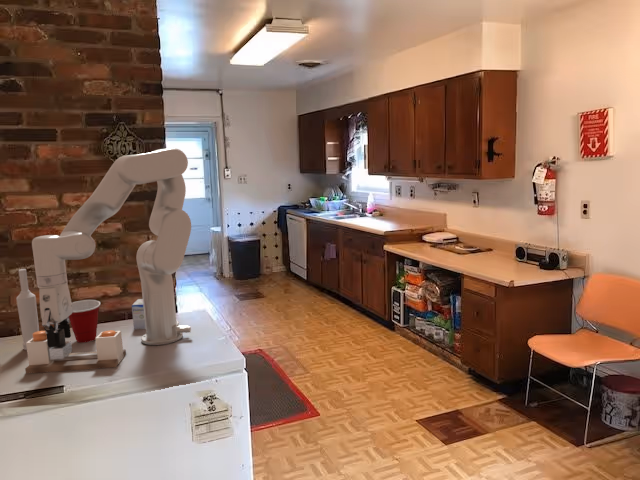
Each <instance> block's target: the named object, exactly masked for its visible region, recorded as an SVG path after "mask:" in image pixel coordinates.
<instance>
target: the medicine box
mask: <svg viewBox="0 0 640 480" xmlns="http://www.w3.org/2000/svg"><path fill="white" fill-rule="evenodd" d="M131 314H132V325H133V329H134V330H146V327H145V317H144V307H143V298H137V300H135V301H134V302H133V304H131Z"/></svg>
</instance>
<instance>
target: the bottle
mask: <svg viewBox="0 0 640 480" xmlns="http://www.w3.org/2000/svg"><path fill="white" fill-rule="evenodd" d="M27 274H28V272H27V269H26V268H21V269H18V277H19V283H20V290H21V291H19V294H18V295H17V296H16V305H17V312H18V317H19V324H20V330H21V335H22V342H23V343H22V348H23V350H24V351H27V346H26V343H27V342H28V341H29V340H31V339H32V338H33V333H34V332H37V331H40V327H39V318H38V309H37V308H38V307H37V297H36V294H34V293H32V292H31V290H29V282H28V275H27Z"/></svg>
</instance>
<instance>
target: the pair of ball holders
mask: <svg viewBox="0 0 640 480" xmlns="http://www.w3.org/2000/svg"><path fill="white" fill-rule="evenodd" d="M114 331H115V335H114V336H110V337H102V335H101V333H102V332H103V331H101V332H100V333H99V334H98V335H96V338H95V347H96V351H97V357H98V360H111V359H118V365H119V364H120V362H121V361H122V360H123V359H124V357H125V356H124V354H122V353H123V350H124V348H123V347H124V346H123V337H122V330H114ZM26 346H27V350H26V351H27V360H28V366H29V365H40V364H50V363H51V362H52V361H53V360H54V359H53V360H50V353H49V349H50V348H51V347H48V343H47V340H44V341H36V342H34V341H33V338H32V339H31V340H29V341H28V342H27V343H26ZM123 356H124V357H123ZM121 359H122V360H121Z"/></svg>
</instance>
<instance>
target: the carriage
mask: <svg viewBox="0 0 640 480" xmlns="http://www.w3.org/2000/svg"><path fill="white" fill-rule="evenodd" d="M57 332H59V335H60V343H61V345H60V346H59V347H51V348H50V349H49V353H50V360H53V359H64V358H65V357H66V356H67V355H68V354H69V353H73V348H72V346H73V345H72V341H71V340H69V341H66V338H65V334H64V328H58V331H57Z"/></svg>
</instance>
